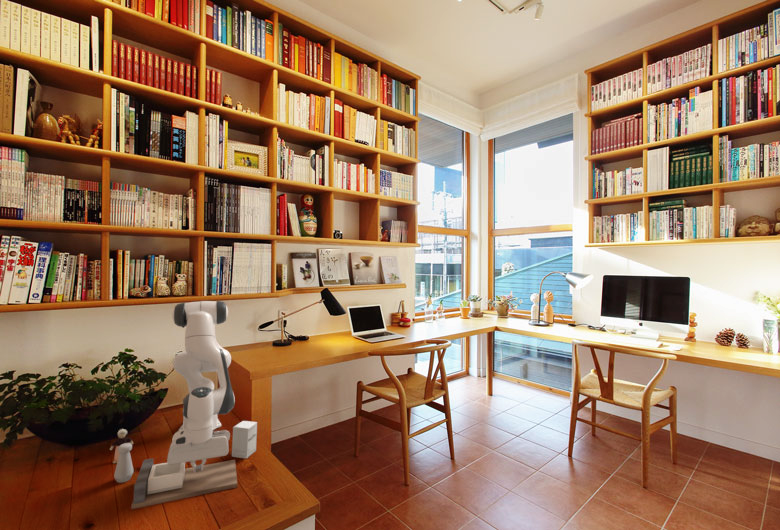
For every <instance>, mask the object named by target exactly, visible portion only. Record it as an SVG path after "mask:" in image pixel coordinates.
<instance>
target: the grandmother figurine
mask: <svg viewBox="0 0 780 530" xmlns="http://www.w3.org/2000/svg"><path fill="white" fill-rule="evenodd" d="M126 435H128V430H127V429H124V428H120V429H119V430H118V432H117V437H118V438H117V439H115V440H114V441H113V442H112V444H111V446H110V447H109V451H113V449H114V447H115V450H114V451H115V452H114V458H113V461H112V464H117V462H118V458H119V452H118V447H119V446H120V445H122V444H124V443H131V444H132V445H134V442H133V439H132V438H130V437H127V436H126Z"/></svg>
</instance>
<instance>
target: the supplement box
mask: <svg viewBox="0 0 780 530" xmlns="http://www.w3.org/2000/svg"><path fill="white" fill-rule="evenodd" d="M257 435H258V422H257V421H250V420H242V421H241V422H238V423H237V424H236V425H234V426H232V444H231V457H234V458H240V459H248V458H249V457H250V456H252V455H253V454H254V453H255V452H256V451H257V437H258V436H257Z"/></svg>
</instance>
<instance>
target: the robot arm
mask: <svg viewBox="0 0 780 530" xmlns="http://www.w3.org/2000/svg"><path fill="white" fill-rule="evenodd" d="M171 316H172V317H171V318H172V320H173V322H174V325H175V326H177V327H181V328H185V331H184V333H185V334H184V348H185V350H183V351H180V352H178V353H176V355H175V356H174V358H173V360H172V366H173V369H174V370H175V372H176V373H177V374H179V375H181V376H182V377H183V378H184V379H185V380H186V382H187V387H188V394H187V395H186V396H185V397H184V398H183V399H182V405H183V407H182V409H183V410H182V415H183V421H182V425H180V427H179V429H177V431H176V432H175V433H174V434H173V436H172V438H171V439H172V441H171V443H170V446H169V449H168V454H167V457H166V458H167V461H166V463H168V464H169V465H172V464H178V463H184V462H185V463H190V465H191V466H192V467H193V468H194V472H199V471H203V466H204V465H206V462H207V460H208V459H214V458H219V457H224V456H227V455H228V454H229V441H230V439H231V433H230V431H229V430H226V429H222V430H216V429H218V428H221V427H222V423H221V422H220V419H219V415H227V414H229V412H230V411H232V410H233V409H234V407H235V402H236V400H235V399H236V398H235V394H234V391H233V388H232V384H231V383H232V382H231V380H230V374H229V367H230V365H231V363H232V355H231V353H230V352H229V350H227V349H225V348H224V347H223V346H221V345H220V344H219V343H218V340H217V337H216V325H220V324H223V323H224V322H226V321H227V319H228V316H229V307H228V306H227V303H226V302H224V301H221V300H217V301H215V300H214V301H213V300H200V301H191V302H181V303H178V304H176V305H175V306H174V308H173V311H172V315H171ZM210 372H212V373H213V372H216V374H217V379H218V383H219V387H218V388H216V389H215V383H214V382H213V380H211V379H210V378H207V377H204V376H203V375H202V373H210ZM200 460H201V464H196V461H200Z"/></svg>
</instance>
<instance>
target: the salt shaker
mask: <svg viewBox="0 0 780 530" xmlns="http://www.w3.org/2000/svg"><path fill="white" fill-rule="evenodd" d="M132 449H133V444H131V443H129V442H126V443H124V444H122V445H120V446H119V447H118V452H119V458H118V462H117V463H116V466H115V471H114V476H113V477H114V479H115V481H116V483H119V484H122V483H126V482H128V481H130V480H131V478H132V476H133V474H134V466H133V462H132V461H133V460H132V456H131V452H130V451H132Z"/></svg>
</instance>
